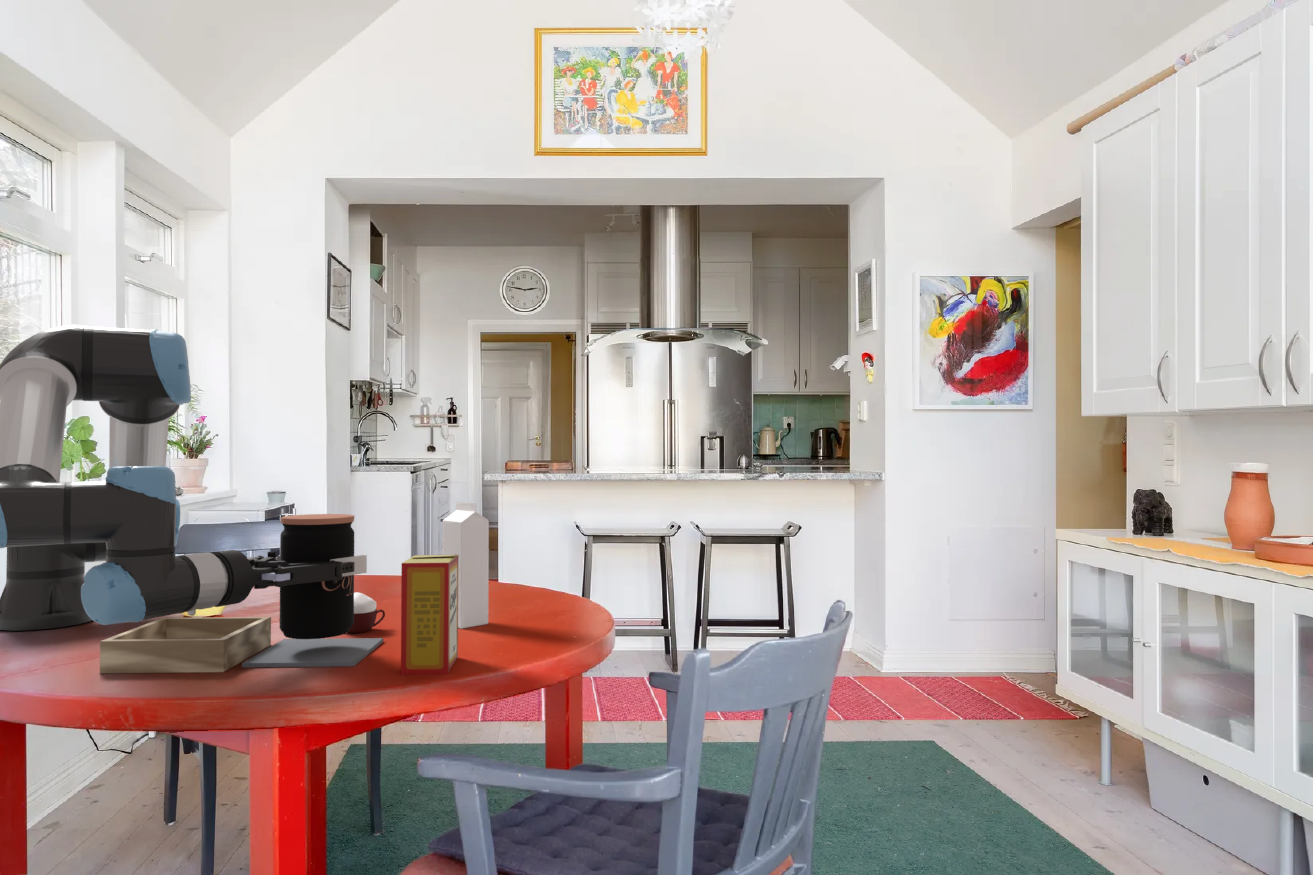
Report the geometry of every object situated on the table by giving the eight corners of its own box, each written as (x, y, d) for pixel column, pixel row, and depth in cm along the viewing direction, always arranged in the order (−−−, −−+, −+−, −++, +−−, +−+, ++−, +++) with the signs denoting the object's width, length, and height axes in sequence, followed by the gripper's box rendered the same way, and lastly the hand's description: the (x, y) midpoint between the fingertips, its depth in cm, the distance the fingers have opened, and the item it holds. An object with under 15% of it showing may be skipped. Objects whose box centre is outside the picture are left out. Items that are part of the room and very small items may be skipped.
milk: (460, 629, 152) (461, 504, 152) (441, 624, 156) (441, 502, 156) (489, 623, 156) (489, 502, 156) (469, 619, 160) (469, 501, 160)
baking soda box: (447, 673, 121) (448, 560, 122) (400, 674, 121) (401, 560, 121) (457, 657, 131) (458, 552, 131) (414, 658, 130) (414, 552, 131)
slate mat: (283, 642, 140) (283, 638, 140) (383, 641, 141) (383, 637, 141) (241, 667, 124) (241, 663, 124) (354, 666, 125) (354, 661, 125)
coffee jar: (328, 641, 126) (329, 519, 127) (264, 638, 129) (265, 518, 129) (367, 627, 137) (367, 514, 137) (306, 624, 139) (307, 513, 139)
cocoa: (386, 629, 153) (390, 561, 154) (377, 635, 147) (381, 565, 148) (331, 627, 152) (336, 559, 153) (320, 633, 146) (324, 562, 147)
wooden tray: (162, 645, 138) (162, 617, 138) (270, 644, 139) (271, 616, 139) (99, 673, 121) (100, 641, 121) (223, 671, 122) (223, 640, 122)
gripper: (158, 600, 122) (287, 580, 142) (269, 614, 112) (393, 590, 131) (158, 548, 122) (288, 534, 142) (270, 556, 112) (393, 541, 131)
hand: (338, 561), depth 137 cm, fingers closed on coffee jar, 11 cm apart
